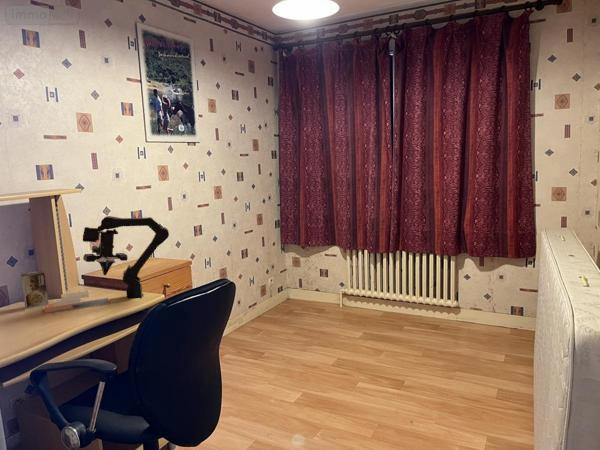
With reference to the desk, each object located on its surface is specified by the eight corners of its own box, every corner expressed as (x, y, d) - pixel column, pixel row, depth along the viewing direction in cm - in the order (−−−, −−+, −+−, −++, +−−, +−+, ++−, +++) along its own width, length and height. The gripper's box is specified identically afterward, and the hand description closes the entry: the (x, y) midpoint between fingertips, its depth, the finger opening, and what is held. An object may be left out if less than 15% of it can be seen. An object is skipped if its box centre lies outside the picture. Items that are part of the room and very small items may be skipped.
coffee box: (46, 302, 214) (42, 270, 212) (49, 305, 210) (45, 272, 207) (24, 307, 209) (20, 273, 207) (26, 310, 204) (22, 276, 202)
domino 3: (87, 290, 210) (61, 294, 204) (88, 292, 205) (61, 296, 200) (88, 294, 210) (61, 298, 205) (88, 296, 205) (61, 301, 200)
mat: (107, 299, 217) (107, 297, 217) (110, 304, 208) (110, 303, 207) (52, 308, 206) (51, 306, 206) (51, 314, 196) (51, 313, 196)
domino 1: (72, 301, 207) (44, 305, 202) (72, 303, 202) (44, 308, 197) (72, 305, 207) (45, 309, 202) (72, 308, 203) (45, 312, 198)
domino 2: (79, 295, 208) (52, 299, 203) (80, 298, 204) (52, 302, 199) (80, 299, 208) (53, 303, 203) (80, 302, 204) (53, 306, 199)
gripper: (120, 239, 223) (118, 270, 225) (80, 240, 211) (78, 272, 212) (128, 243, 215) (126, 275, 216) (88, 244, 202) (85, 277, 204)
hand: (104, 275), depth 212 cm, fingers closed
